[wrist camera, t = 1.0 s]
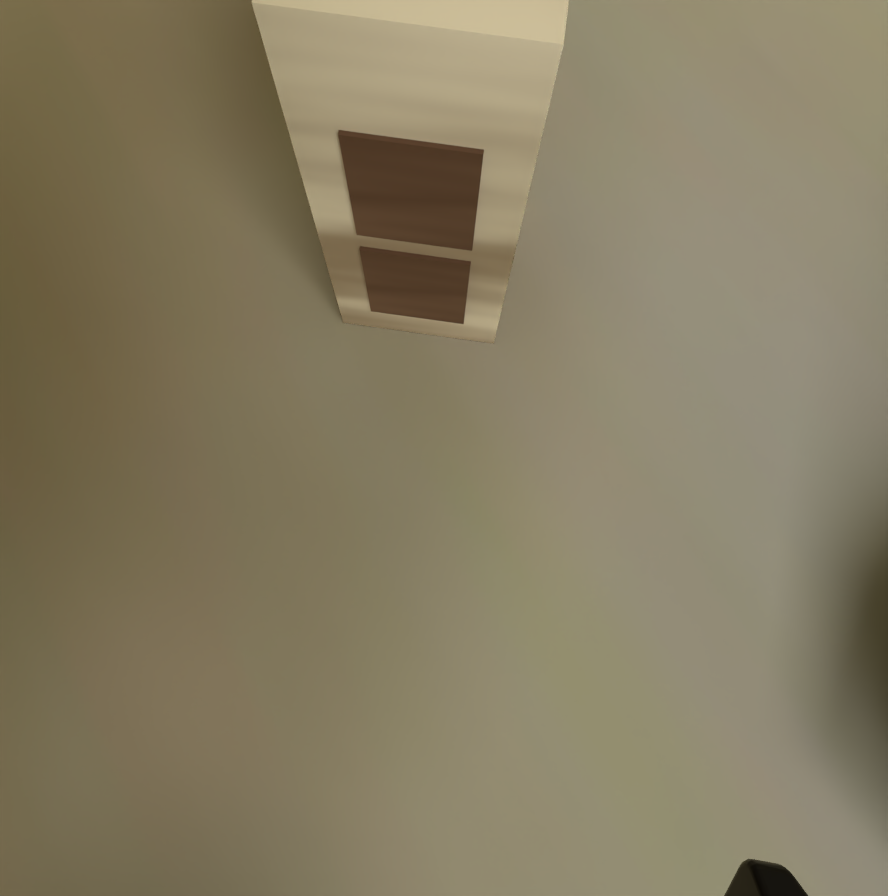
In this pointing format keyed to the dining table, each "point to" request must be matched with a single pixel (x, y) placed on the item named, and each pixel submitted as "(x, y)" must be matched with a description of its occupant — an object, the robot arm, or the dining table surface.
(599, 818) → the dining table surface
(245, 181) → the dining table surface
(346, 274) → the cream two-panel pillar
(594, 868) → the dining table surface
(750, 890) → the robot arm
